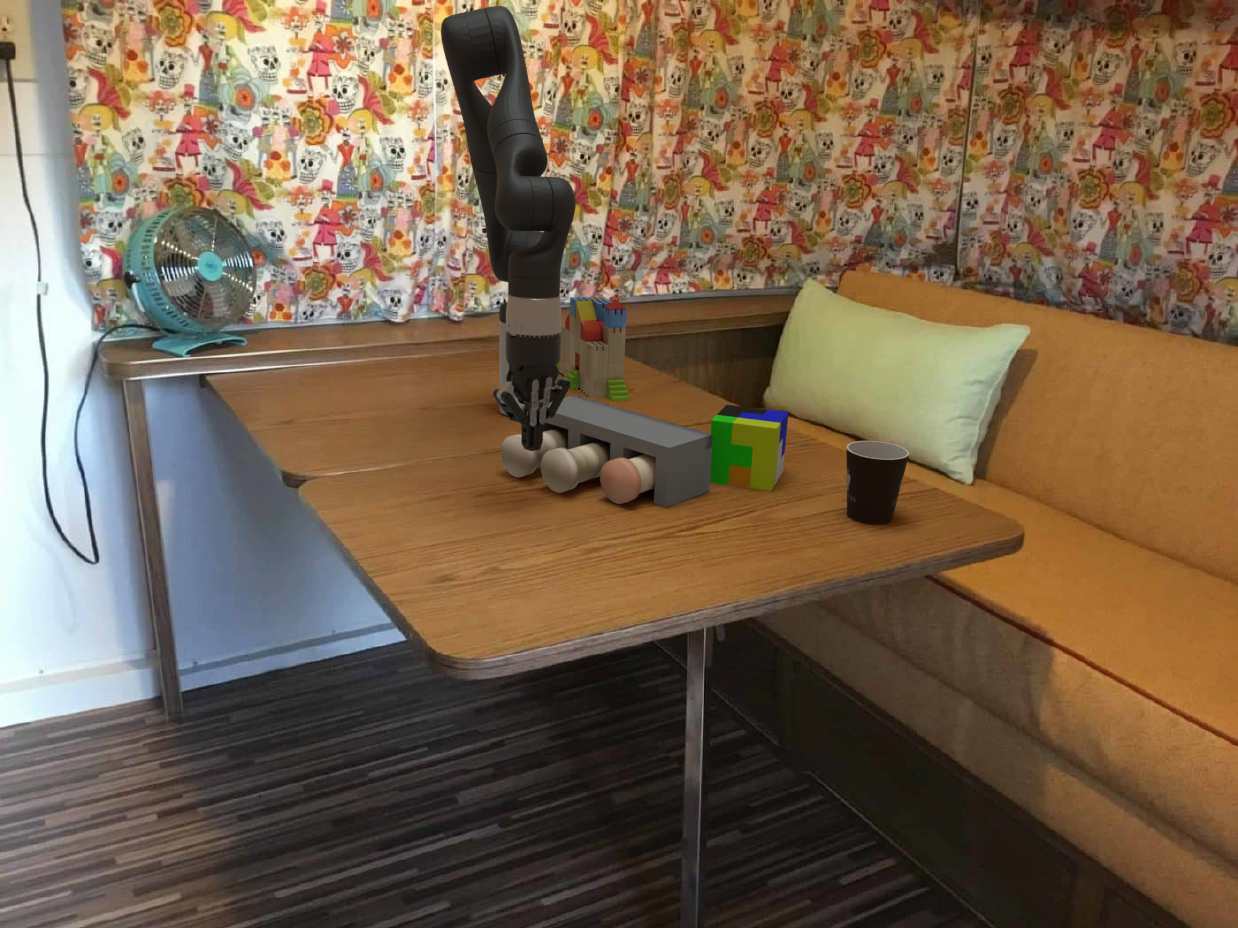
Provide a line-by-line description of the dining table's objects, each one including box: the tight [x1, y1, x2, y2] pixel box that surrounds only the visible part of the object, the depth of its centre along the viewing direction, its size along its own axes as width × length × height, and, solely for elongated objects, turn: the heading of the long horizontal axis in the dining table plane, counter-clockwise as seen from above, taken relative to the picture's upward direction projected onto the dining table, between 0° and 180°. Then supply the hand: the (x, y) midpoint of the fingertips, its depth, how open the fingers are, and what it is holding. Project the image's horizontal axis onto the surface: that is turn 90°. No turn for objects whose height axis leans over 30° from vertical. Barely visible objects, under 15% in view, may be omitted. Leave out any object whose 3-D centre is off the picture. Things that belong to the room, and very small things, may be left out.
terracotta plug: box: [599, 454, 656, 505], centre depth 150 cm, size 10×6×6 cm, turn 137°
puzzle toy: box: [710, 404, 789, 492], centre depth 160 cm, size 10×10×10 cm
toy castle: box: [557, 296, 634, 402], centre depth 211 cm, size 28×14×19 cm, turn 20°
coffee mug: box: [845, 440, 910, 526], centre depth 146 cm, size 12×9×10 cm
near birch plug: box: [500, 428, 568, 478], centre depth 159 cm, size 10×6×6 cm, turn 137°
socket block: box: [537, 395, 713, 508], centre depth 158 cm, size 10×29×9 cm, turn 47°
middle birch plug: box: [540, 441, 610, 494], centre depth 153 cm, size 10×6×6 cm, turn 137°
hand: (531, 449), depth 145 cm, fingers closed
